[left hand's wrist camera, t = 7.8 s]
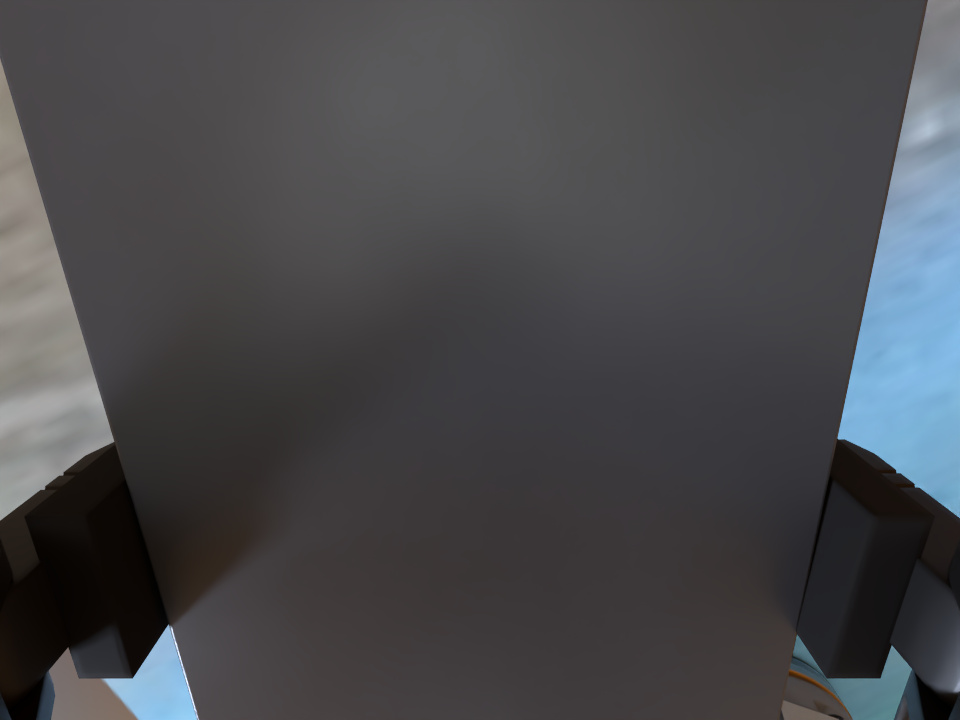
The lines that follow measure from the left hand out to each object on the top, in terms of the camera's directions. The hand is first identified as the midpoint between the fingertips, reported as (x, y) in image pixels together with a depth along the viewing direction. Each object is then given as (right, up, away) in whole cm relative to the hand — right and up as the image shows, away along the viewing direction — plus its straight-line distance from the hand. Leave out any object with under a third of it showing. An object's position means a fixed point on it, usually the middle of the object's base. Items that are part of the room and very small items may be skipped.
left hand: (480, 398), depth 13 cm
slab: (-1, +22, -7) cm, 23 cm away
